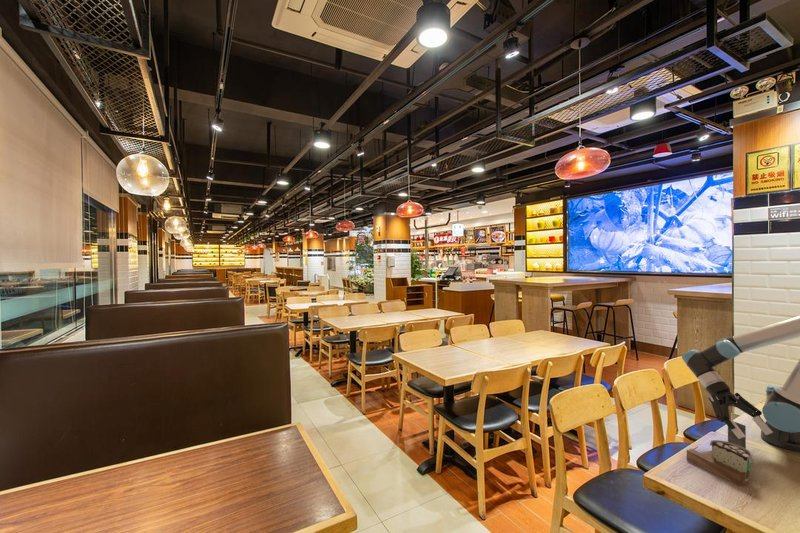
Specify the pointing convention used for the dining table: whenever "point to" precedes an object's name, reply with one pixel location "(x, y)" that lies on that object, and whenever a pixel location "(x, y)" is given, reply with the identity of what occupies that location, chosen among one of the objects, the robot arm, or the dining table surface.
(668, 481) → the dining table surface
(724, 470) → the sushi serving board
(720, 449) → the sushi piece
